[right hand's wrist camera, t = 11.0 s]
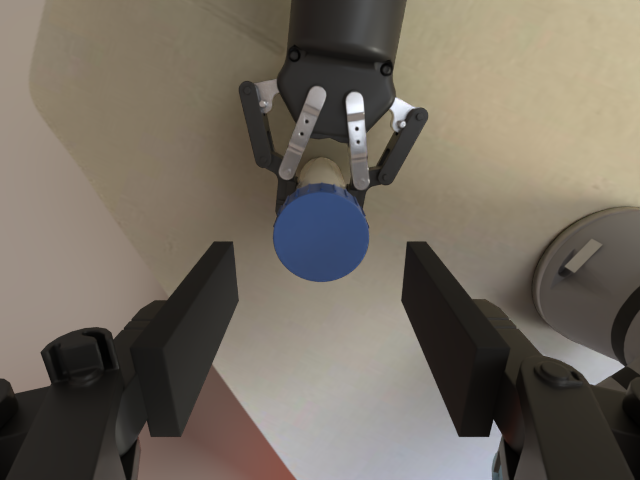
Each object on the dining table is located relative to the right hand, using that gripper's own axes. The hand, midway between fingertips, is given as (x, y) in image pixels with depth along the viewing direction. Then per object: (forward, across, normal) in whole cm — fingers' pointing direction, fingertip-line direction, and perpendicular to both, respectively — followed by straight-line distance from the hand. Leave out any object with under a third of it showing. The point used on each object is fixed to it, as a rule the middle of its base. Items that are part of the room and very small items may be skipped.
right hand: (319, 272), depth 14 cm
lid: (+4, 0, 0) cm, 4 cm away
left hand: (+14, 0, -3) cm, 15 cm away
